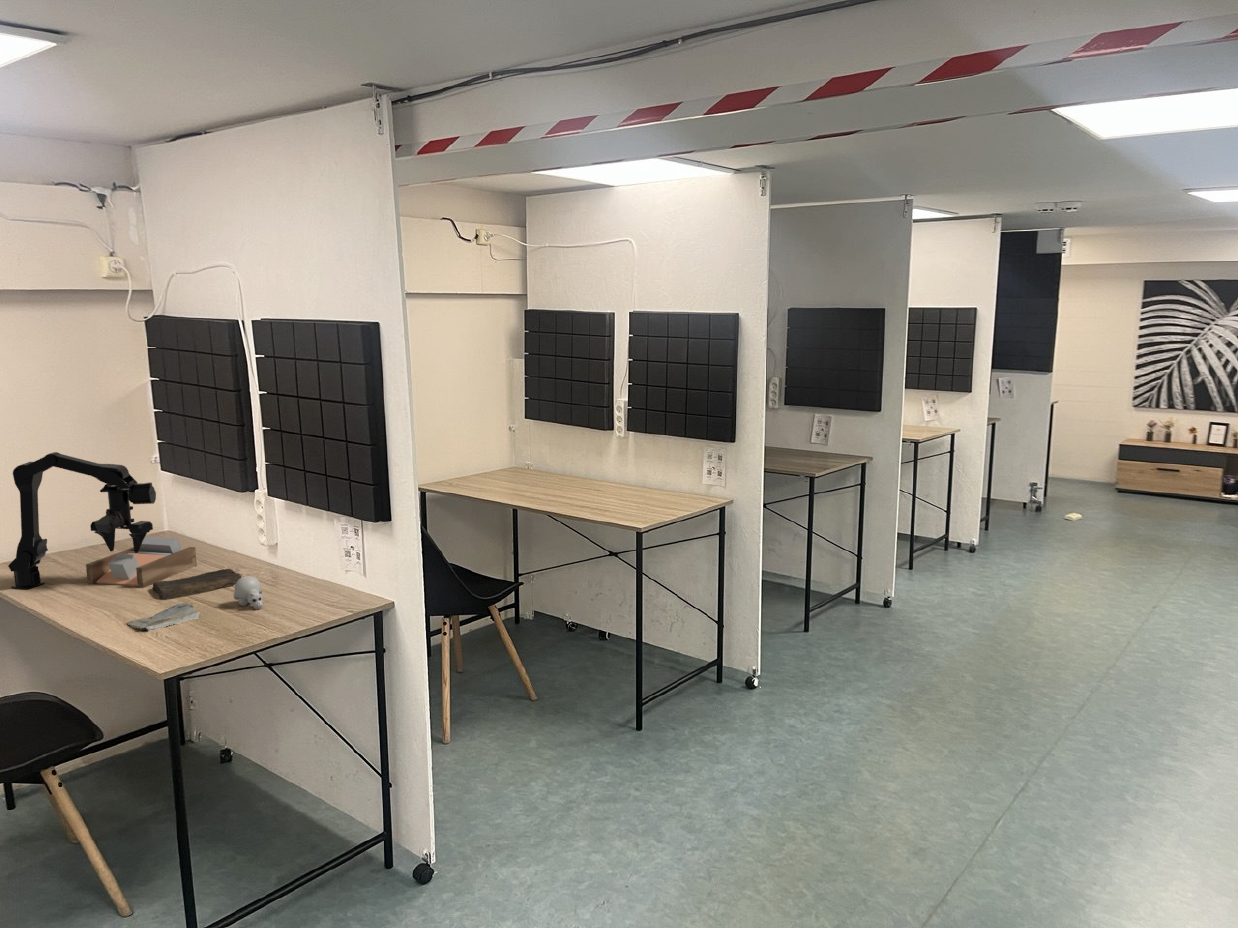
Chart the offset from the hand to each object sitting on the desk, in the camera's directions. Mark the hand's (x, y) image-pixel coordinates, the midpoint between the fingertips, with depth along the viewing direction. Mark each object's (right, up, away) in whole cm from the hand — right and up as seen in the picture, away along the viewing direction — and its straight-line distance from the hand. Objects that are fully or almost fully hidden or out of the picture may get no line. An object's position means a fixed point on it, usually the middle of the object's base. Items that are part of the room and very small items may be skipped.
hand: (124, 551), depth 277 cm
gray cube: (0, -7, +2) cm, 8 cm away
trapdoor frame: (+2, -8, +9) cm, 12 cm away
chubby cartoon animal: (+50, -14, -22) cm, 57 cm away
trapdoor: (+2, -7, +8) cm, 11 cm away
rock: (+26, -11, -4) cm, 29 cm away
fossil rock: (+30, -16, -32) cm, 47 cm away
